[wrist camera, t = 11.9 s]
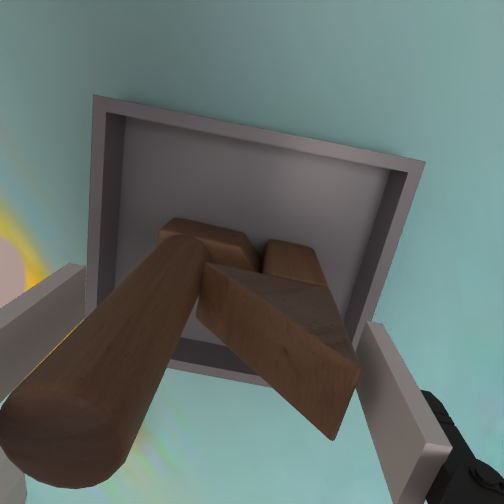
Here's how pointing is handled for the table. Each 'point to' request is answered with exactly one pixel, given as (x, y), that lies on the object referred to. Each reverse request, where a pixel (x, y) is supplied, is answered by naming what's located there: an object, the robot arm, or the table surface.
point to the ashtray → (11, 482)
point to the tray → (240, 208)
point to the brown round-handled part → (164, 343)
